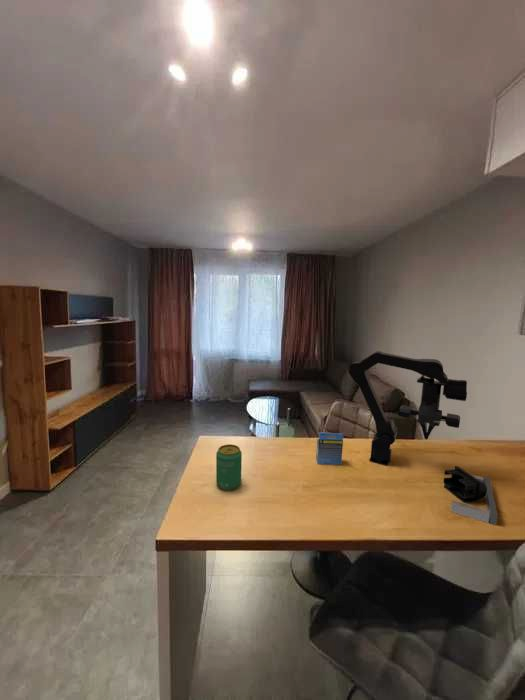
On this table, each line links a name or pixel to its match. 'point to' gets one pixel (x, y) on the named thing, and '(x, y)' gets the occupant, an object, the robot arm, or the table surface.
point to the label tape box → (329, 448)
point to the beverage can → (228, 467)
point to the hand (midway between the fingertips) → (426, 439)
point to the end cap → (464, 485)
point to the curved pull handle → (476, 512)
